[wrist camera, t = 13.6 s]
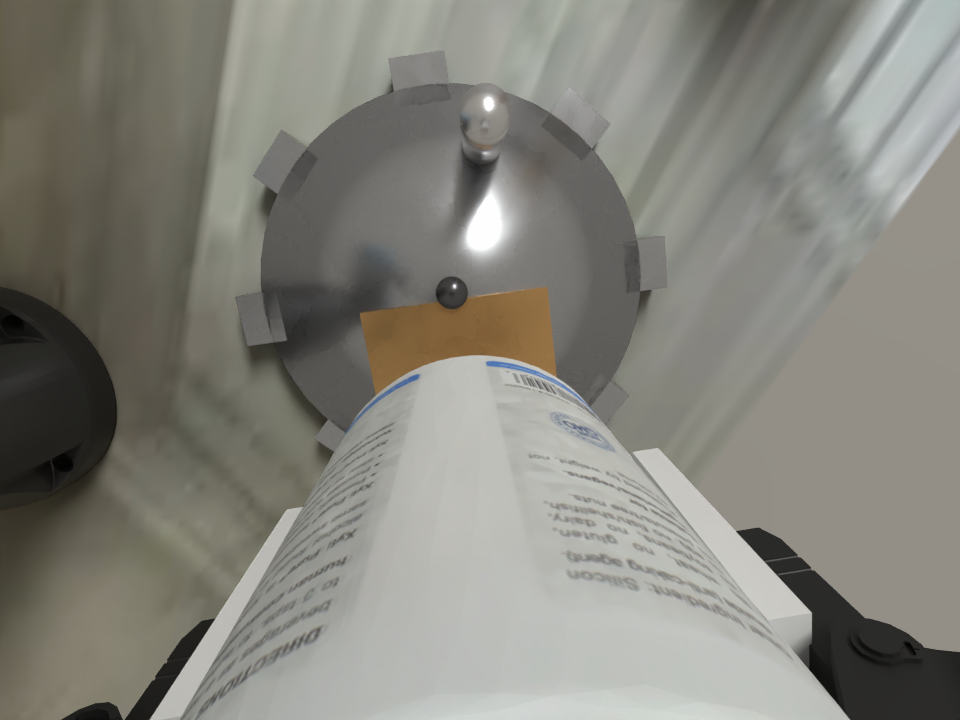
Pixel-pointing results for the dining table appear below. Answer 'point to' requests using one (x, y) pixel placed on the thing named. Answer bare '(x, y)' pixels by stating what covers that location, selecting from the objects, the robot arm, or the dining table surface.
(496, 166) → the sprocket
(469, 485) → the supplement tub
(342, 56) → the dining table surface
